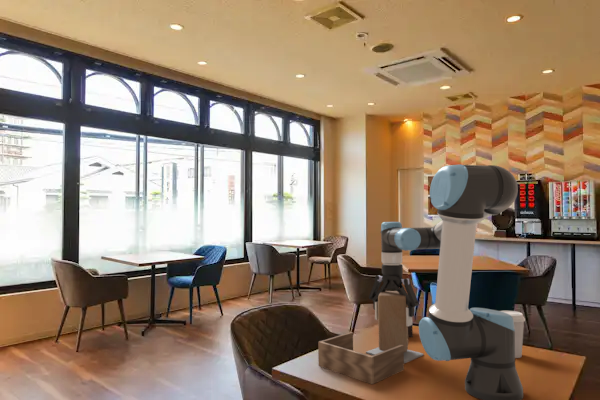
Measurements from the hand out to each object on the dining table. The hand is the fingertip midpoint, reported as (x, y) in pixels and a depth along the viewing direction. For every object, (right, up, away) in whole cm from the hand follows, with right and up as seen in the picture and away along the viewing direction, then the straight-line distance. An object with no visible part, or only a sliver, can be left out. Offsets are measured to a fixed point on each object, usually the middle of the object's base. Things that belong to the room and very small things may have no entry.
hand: (393, 322), depth 155 cm
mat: (0, -12, 0) cm, 12 cm away
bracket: (-14, -11, -14) cm, 23 cm away
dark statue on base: (+8, -13, +29) cm, 32 cm away
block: (0, -9, 0) cm, 10 cm away
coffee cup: (+42, -11, -2) cm, 44 cm away
